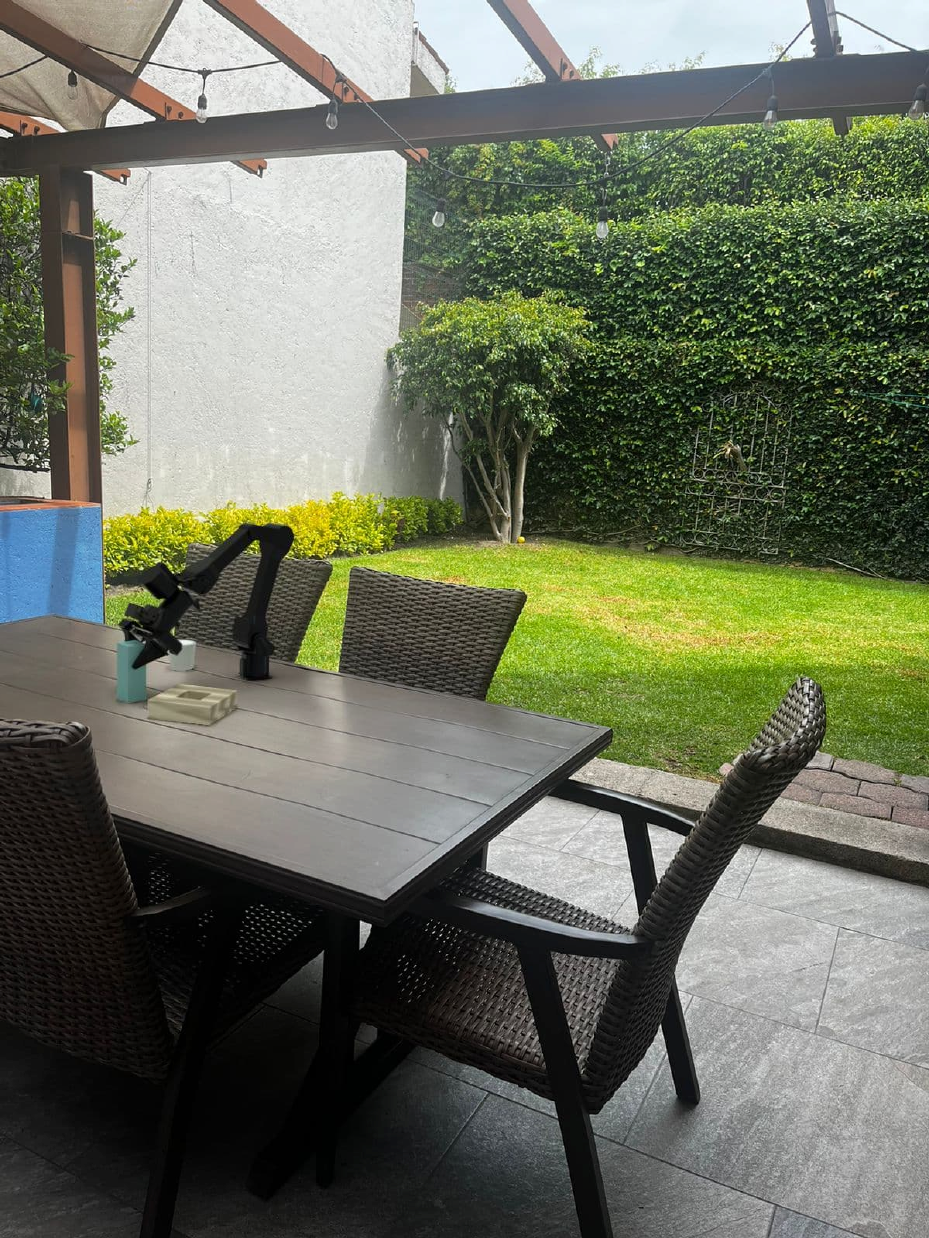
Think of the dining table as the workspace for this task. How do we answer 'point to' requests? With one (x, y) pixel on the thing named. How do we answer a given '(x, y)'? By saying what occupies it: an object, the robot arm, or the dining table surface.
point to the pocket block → (192, 704)
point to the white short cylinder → (183, 656)
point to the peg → (130, 672)
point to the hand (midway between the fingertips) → (125, 665)
